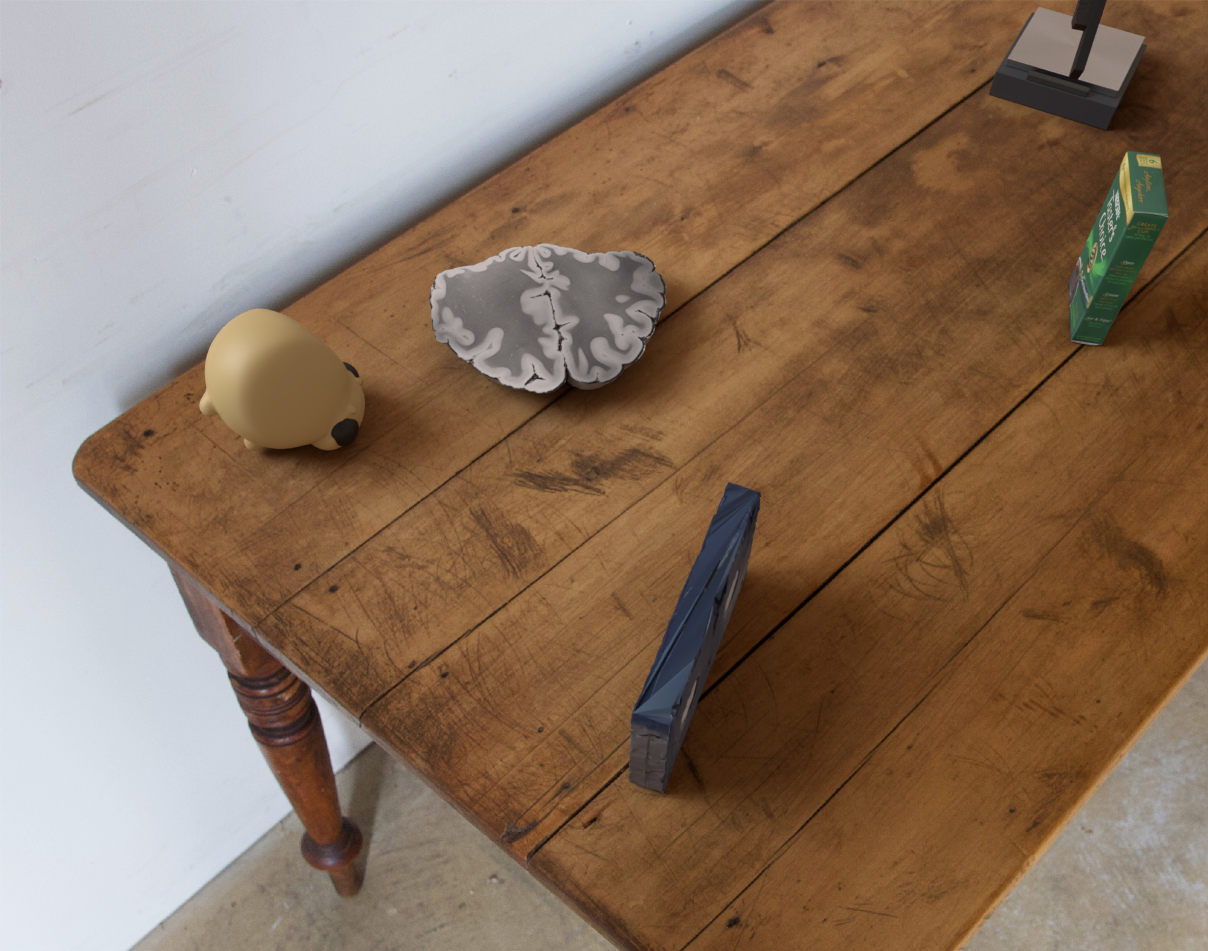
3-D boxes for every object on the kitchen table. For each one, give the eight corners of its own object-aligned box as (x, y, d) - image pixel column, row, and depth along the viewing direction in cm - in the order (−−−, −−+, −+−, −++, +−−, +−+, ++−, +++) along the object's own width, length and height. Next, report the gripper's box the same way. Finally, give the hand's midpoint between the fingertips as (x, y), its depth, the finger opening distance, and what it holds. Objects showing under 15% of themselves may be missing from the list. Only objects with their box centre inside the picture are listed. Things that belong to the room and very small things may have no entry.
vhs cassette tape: (714, 564, 81) (728, 478, 73) (753, 578, 80) (771, 492, 72) (619, 781, 72) (622, 711, 63) (662, 797, 71) (671, 730, 63)
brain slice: (451, 433, 87) (446, 408, 85) (424, 286, 96) (420, 259, 94) (692, 397, 90) (695, 371, 87) (645, 256, 98) (646, 229, 96)
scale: (1137, 67, 114) (1150, 37, 112) (1106, 130, 109) (1120, 99, 106) (1024, 35, 117) (1034, 4, 115) (988, 94, 112) (998, 63, 109)
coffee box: (1065, 277, 98) (1126, 146, 86) (1099, 282, 97) (1164, 151, 86) (1066, 342, 93) (1131, 212, 82) (1102, 347, 93) (1171, 218, 82)
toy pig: (304, 500, 88) (390, 442, 82) (165, 430, 80) (249, 361, 74) (316, 404, 93) (398, 343, 87) (186, 329, 85) (267, 257, 79)
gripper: (1420, -158, 84) (1311, 135, 89) (1085, -211, 88) (998, 72, 93) (1473, -208, 77) (1350, 114, 82) (1105, -263, 81) (1010, 47, 86)
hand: (1163, 92), depth 88 cm, fingers open, 13 cm apart
